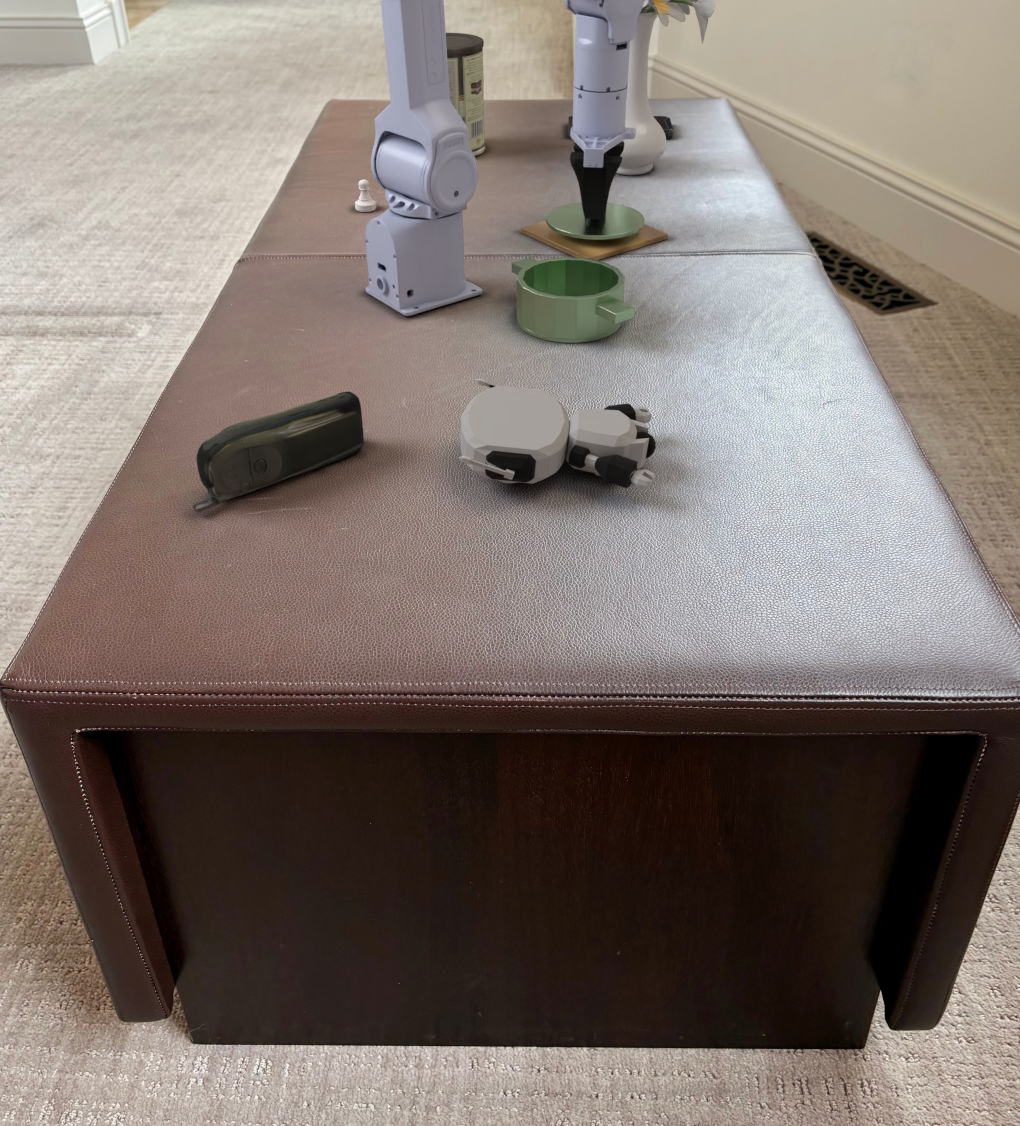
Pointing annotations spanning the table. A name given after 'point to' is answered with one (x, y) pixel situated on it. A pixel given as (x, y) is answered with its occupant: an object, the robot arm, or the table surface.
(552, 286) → the pot
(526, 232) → the trivet
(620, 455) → the robot toy
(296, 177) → the table surface
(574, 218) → the pot lid
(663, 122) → the phone
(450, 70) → the coffee can
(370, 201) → the chess pawn
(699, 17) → the flower vase
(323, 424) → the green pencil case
